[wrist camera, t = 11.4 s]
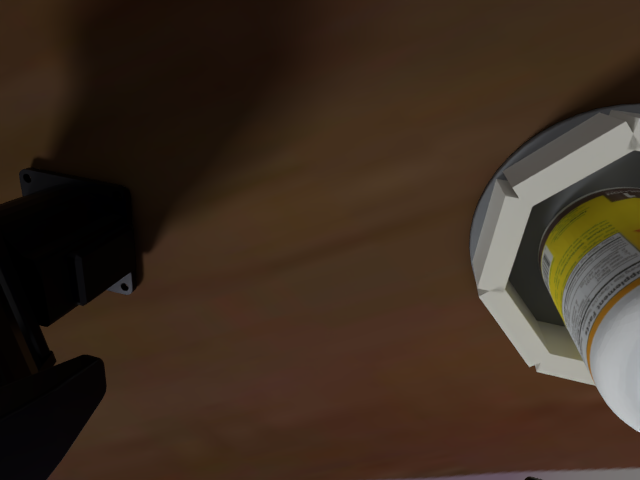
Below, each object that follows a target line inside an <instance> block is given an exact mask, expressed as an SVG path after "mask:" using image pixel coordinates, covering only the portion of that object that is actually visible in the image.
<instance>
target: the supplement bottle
mask: <svg viewBox="0 0 640 480" xmlns="http://www.w3.org/2000/svg"><path fill="white" fill-rule="evenodd" d="M538 264H539V270H540V273H541V276H542V278H543V281H544V283H545V285H546V287H547V289H548V291H549V294H550V295H551V297H552V299H553V301H554V303H555V305H556V308H557V310H558V312H559V314H560V316H561V317H562V319H563V321H564V324H565V326H566V328H567V330H568V331H569V333H570V336H571V337H572V339H573V341H574V343H575V345H576V347H577V349H578V351H579V353H580V355H581V357H582V359H583V361H584V363H585V365H586V367H587V370H588V371H589V373H590V375H591V377H592V379H593V381H594V383H595V385H596V387H597V389H598V391H599V392H600V394H601V396H602V397H603V399H604V400H605V402H606V403H607V405H608V406H609V407H610V408H611V409H612V411H613V412H614V413H615V414H616V415H617V416H618V417H619V418H620V419H622V420H623V421H624V422H625V423H627V424H628V425H629V426H631V427H632V428H634V429H635V430H637V431H638V432H640V188H634V187H615V188H607V189H602V190H598V191H595V192H592V193H589V194H586V195H584V196H582V197H580V198H578V199H576V200H575V201H573V202H571V203H570V204H568V205H567V206H566V207H564V208H563V209H562V210H561V211H560V212H558V214H557V215H556V216H555V217H554V218H553V219H552V220H551V222H550V223H549V224H548V226H547V228H546V229H545V231H544V233H543V235H542V238H541V241H540V244H539V250H538Z"/></svg>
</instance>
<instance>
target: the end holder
mask: <svg viewBox="0 0 640 480" xmlns="http://www.w3.org/2000/svg"><path fill="white" fill-rule="evenodd" d="M615 187H634V188H640V103H637V104H620V105H615V106H609V107H603V108H598V109H594V110H591V111H588V112H584V113H581V114H577V115H575V116H573V117H570V118H568V119H565V120H563V121H560V122H558V123H556V124H554V125H553V126H551V127H549V128H547V129H545V130H543V131H542V132H540V133H538V134H537V135H536V136H534V137H533V138H531V139H530V140H528V141H527V142H526V143H524V144H523V145H522V146H521V147H520V148H518V149H517V150H516V151H515V152H514V153H513V154H512V155H510V156H509V157H508V158H507V160H506V161H505V162H504V163H503V164H502V165H501V166H500V167H499V169H498V170H497V171H496V172H495V174H494V175H493V177H492V178H491V179H490V181H489V182H488V184H487V185H486V187H485V189H484V191H483V193H482V195H481V197H480V199H479V201H478V204H477V206H476V209H475V212H474V215H473V219H472V224H471V229H470V242H469V248H470V258H471V264H472V269H473V273H474V277H475V280H476V285H477V290H478V295H479V297H480V299H481V300H482V302H483V303H484V304H485V306H486V307H487V309H488V310H489V311H490V313H491V314H492V316H493V317H494V318H495V320H496V321H497V323H498V324H499V325H500V327H501V328H502V330H503V331H504V332H505V334H506V335H507V337H508V338H509V339H510V341H511V342H512V344H513V345H514V346H515V348H516V349H517V351H518V352H519V353H520V355H521V356H522V358H523V359H524V360H525V362H526V363H527V365H528V366H529V367H531V366H533V365H535V368H536V371H537V372H540V373H544V374H549V375H553V376H557V377H561V378H566V379H570V380H574V381H578V382H583V383H587V384H591V385H595V383H594V381H593V379H592V377H591V375H590V373H589V371H588V370H587V367H586V365H585V363H584V361H583V359H582V357H581V355H580V353H579V351H578V349H577V347H576V345H575V343H574V341H573V339H572V337H571V336H570V333H569V331H568V330H567V328H566V326H565V324H564V321H563V319H562V317H561V316H560V314H559V312H558V310H557V308H556V305H555V303H554V301H553V299H552V297H551V295H550V294H549V291H548V289H547V287H546V285H545V283H544V281H543V278H542V276H541V273H540V270H539V264H538V250H539V244H540V241H541V238H542V235H543V233H544V231H545V229H546V228H547V226H548V224H549V223H550V222H551V220H552V219H553V218H554V217H555V216H556V215H557V214H558V212H560V211H561V210H562V209H563V208H564V207H566V206H567V205H568V204H570V203H571V202H573V201H575V200H576V199H578V198H580V197H582V196H584V195H586V194H589V193H592V192H595V191H598V190H602V189H607V188H615ZM595 386H596V385H595Z"/></svg>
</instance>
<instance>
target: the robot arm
mask: <svg viewBox="0 0 640 480" xmlns="http://www.w3.org/2000/svg"><path fill="white" fill-rule="evenodd" d="M19 177H20V183H21V189H22V195H23V197H20V198H17V199H14V200H11V201H8V202H5V203H3V204H0V480H47V478H48V477H49V476H50V474H51V473H52V472H53V471H54V469H55V468H56V467H57V465H58V464H59V463H60V462H61V460H62V459H63V457H64V456H65V454H66V453H67V452H68V450H69V449H70V447H71V446H72V444H73V443H74V441H75V440H76V438H77V437H78V435H79V434H80V432H81V431H82V429H83V427H84V426H85V424H86V423H87V421H88V420H89V418H90V417H91V415H92V414H93V412H94V411H95V409H96V408H97V406H98V405H99V403H100V402H101V400H102V399H103V397H104V395H105V392H106V377H105V368H104V362H103V361H102V359H100V358H97V357H94V356H90V355H81V356H78V357H76V358H73V359H71V360H68V361H66V362H63V363H61V364H58V365H56V366H53V365H54V364H55V363H56V359H55V356H54V354H53V352H52V351H50V350H49V348H48V345H47V343H46V340H45V338H44V336H43V333H42V331H41V328H40V326H39V325H41V326H45V327H48V326H50V325H51V324H52V323H54V322H55V321H57V320H58V319H60V318H61V317H62V316H64V315H65V314H67V313H68V312H70V311H71V310H72V309H74V308H75V307H77V306H78V305H82V306H84V305H86V304H87V303H89V302H90V301H92V300H93V299H94V298H96V297H97V296H99V295H100V294H101V293H103V292H104V291H105V290H109V291H113V292H117V293H121V294H125V295H128V294H131V293H132V292H133V291H134V290H135V289H136V286H137V284H136V270H135V268H136V261H135V246H134V231H133V226H132V211H131V196H130V192H129V191H128V189H127V188H126V187H124V186H122V185H117V184H112V183H107V182H102V181H97V180H92V179H87V178H82V177H77V176H71V175H66V174H61V173H56V172H51V171H46V170H41V169H36V168H26V169H23V170H21V171H20V173H19ZM30 177H31V179H30ZM118 193H120V195H121V197H122V198H120V197H119V196H118ZM125 284H127V285H128V287H127V286H126V285H125ZM525 480H541V479H538V478H534V477H527V478H526V479H525Z"/></svg>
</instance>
